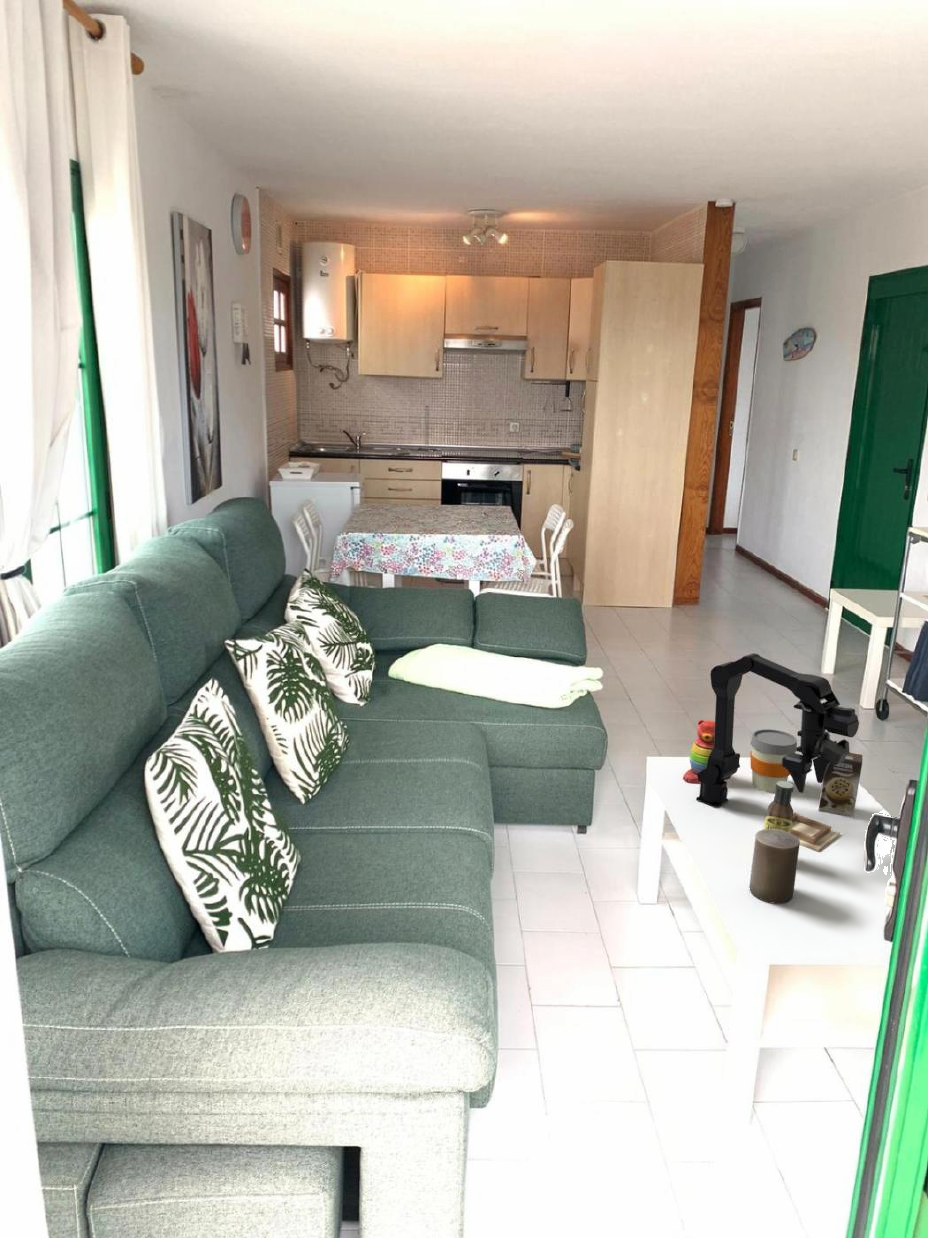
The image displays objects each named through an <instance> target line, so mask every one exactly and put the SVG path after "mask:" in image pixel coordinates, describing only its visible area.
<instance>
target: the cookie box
mask: <svg viewBox="0 0 928 1238" xmlns="http://www.w3.org/2000/svg"><path fill="white" fill-rule="evenodd" d="M862 766H863V755H862V754H860V753H859V754H858V753H853V752H850V754H848V755H847V756H846V758H845V760H844V762H841V763H839V764H838V765H834V764H832V763H831V762H830V764H829V766H828V769H827V771H826V774H825V777H824V779H823V782H822V783H821V789H820V795H819V800H818V801H819V803H818V811H819V812H824V813H830V814H835V815H840V816H845V817H850V818H854V816H855V809H856V803H857V797H858V793H859V785H860V780H861V773H862V772H861V771H862Z"/></svg>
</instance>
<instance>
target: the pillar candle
mask: <svg viewBox="0 0 928 1238" xmlns="http://www.w3.org/2000/svg"><path fill="white" fill-rule="evenodd" d="M754 835H755V838H754V846H753V855H752V862H751V863H752V864H751V870H750V872H751V873H750V878H749V886H748V887H749V888H750V890H749V892H750V891H751V892H750V893H751V894H752V895H753V896H754V895H755V896H757V897H758V898H757V897H756V898H757V899H759V898H761V899H760V900H762V901H764V900H765V901H764V902H766V901H767V902H766V903H771V902H774V903H773V904H784V903H789V902H790V901H791V900H792V899H794V898H793V897H794V892H795V891H794V890H795V883H796V878H797V877H796V875H797V868H798V861H799V860H798V859H799V851H800V846H801V845H800V841H799V839H798V838H797V837H796V836H795V835H793V834H791V833H789V832H786V831H783V830H778V829H764V828H763V829H761V830H758V831H757V832H756V833H755V834H754ZM755 896H754V897H755Z"/></svg>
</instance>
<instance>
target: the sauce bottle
mask: <svg viewBox="0 0 928 1238" xmlns="http://www.w3.org/2000/svg"><path fill="white" fill-rule="evenodd" d="M794 786H795V785H794V784H792V783H791V781H790V782H789V781H787V782H786V781H778V782H777V783H776V787H775V788H776V792H775V793H774V797H773V801H772V802H770V803H769V805H768V806H767V811H766V815H765V821H764V825H763V829H778V830H783V831H786V832H789V833H791V827H792V822H793V821H792V819H793V814H794V813H795V812H794V809H793V807H792V804H791V801H792V800H791V799H792V796H793V795H792V794H793V792H794Z"/></svg>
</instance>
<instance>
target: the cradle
mask: <svg viewBox="0 0 928 1238" xmlns="http://www.w3.org/2000/svg"><path fill="white" fill-rule="evenodd" d="M792 821H793V822H792V827H791V834H793V835H795V836H796V837H797V838H798V839H799V841H800V845H799V846H802V847H805V848H806V849H807V848H808V849H810V850H812V851H815V852H819V851H821V850H822V849H823V848H825V847H826V846H827V845H828V844H831V842H833V841H834V840H835V839H837V838H838V837H839V836H841V832H840V831H838V830H835V829H832V826H831V825H828V824H826V823H823V822H820V821H818V820H814V819H811V818H809V817H806V816H803V815H800V814H798V813H795V812H794V813H793V819H792Z"/></svg>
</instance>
